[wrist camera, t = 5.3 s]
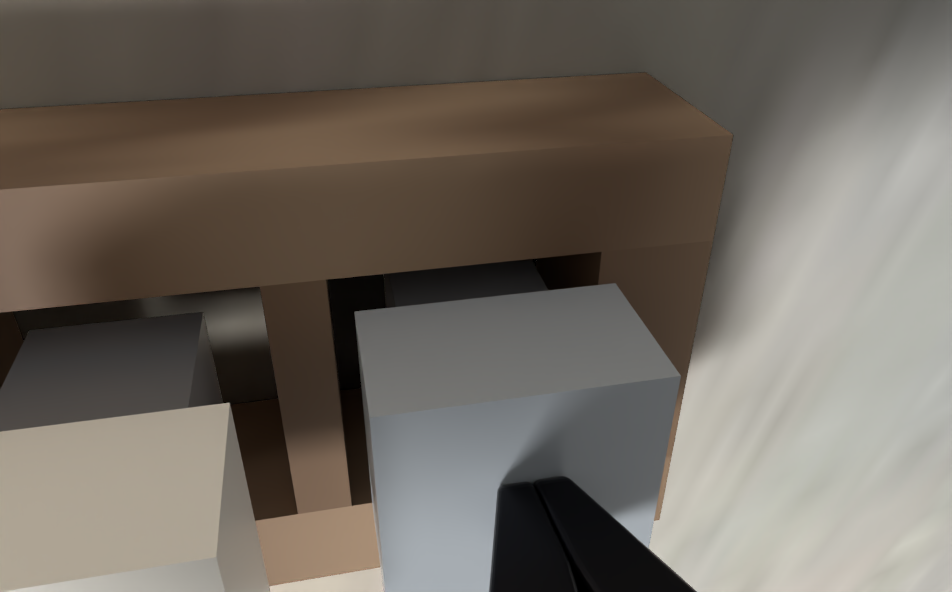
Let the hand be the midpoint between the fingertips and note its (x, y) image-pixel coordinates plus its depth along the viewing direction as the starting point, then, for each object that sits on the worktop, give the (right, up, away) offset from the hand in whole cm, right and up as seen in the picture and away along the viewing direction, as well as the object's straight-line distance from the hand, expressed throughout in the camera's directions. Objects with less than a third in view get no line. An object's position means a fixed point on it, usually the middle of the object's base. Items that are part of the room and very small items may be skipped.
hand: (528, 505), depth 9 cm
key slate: (-1, +3, +4) cm, 5 cm away
